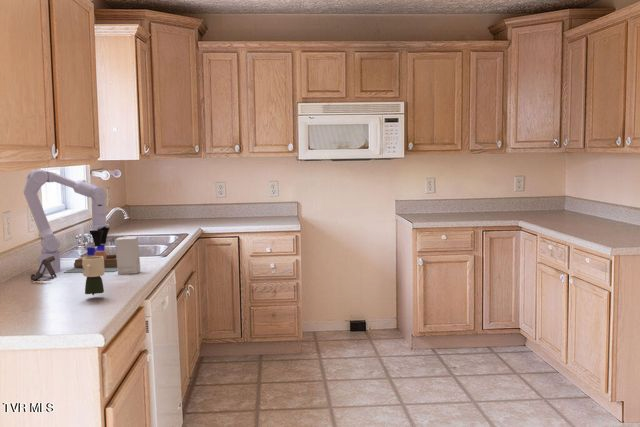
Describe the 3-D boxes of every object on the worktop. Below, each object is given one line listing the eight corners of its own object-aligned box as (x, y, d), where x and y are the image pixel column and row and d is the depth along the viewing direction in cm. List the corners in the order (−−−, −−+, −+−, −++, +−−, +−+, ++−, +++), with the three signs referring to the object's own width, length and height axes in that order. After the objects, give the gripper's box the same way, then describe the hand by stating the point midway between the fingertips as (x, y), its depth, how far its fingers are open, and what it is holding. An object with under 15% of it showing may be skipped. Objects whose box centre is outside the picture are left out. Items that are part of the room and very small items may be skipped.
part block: (104, 263, 270) (103, 252, 269) (94, 263, 270) (94, 252, 269) (106, 261, 274) (106, 250, 273) (97, 261, 274) (97, 250, 273)
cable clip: (96, 256, 301) (95, 244, 301) (105, 256, 301) (104, 244, 300) (84, 260, 289) (84, 247, 289) (93, 260, 289) (93, 247, 288)
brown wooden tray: (119, 267, 265) (119, 259, 265) (72, 268, 264) (72, 260, 264) (128, 261, 279) (127, 254, 279) (83, 262, 278) (83, 255, 278)
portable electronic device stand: (39, 276, 249) (37, 256, 248) (58, 276, 249) (57, 255, 248) (30, 280, 240) (29, 259, 239) (51, 280, 240) (50, 259, 240)
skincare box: (140, 271, 257) (139, 236, 256) (136, 274, 251) (135, 238, 250) (120, 271, 257) (119, 236, 255) (116, 274, 251) (114, 238, 249)
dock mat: (114, 271, 256) (114, 271, 256) (64, 272, 255) (64, 272, 255) (125, 265, 272) (125, 264, 272) (77, 266, 271) (77, 265, 271)
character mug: (90, 291, 218) (88, 255, 217) (110, 290, 218) (108, 254, 217) (78, 297, 208) (76, 260, 206) (99, 297, 207) (97, 259, 206)
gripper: (103, 215, 263) (104, 247, 264) (112, 213, 277) (114, 242, 279) (86, 216, 263) (88, 247, 264) (97, 213, 277) (98, 242, 278)
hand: (100, 245), depth 271 cm, fingers open, 7 cm apart
